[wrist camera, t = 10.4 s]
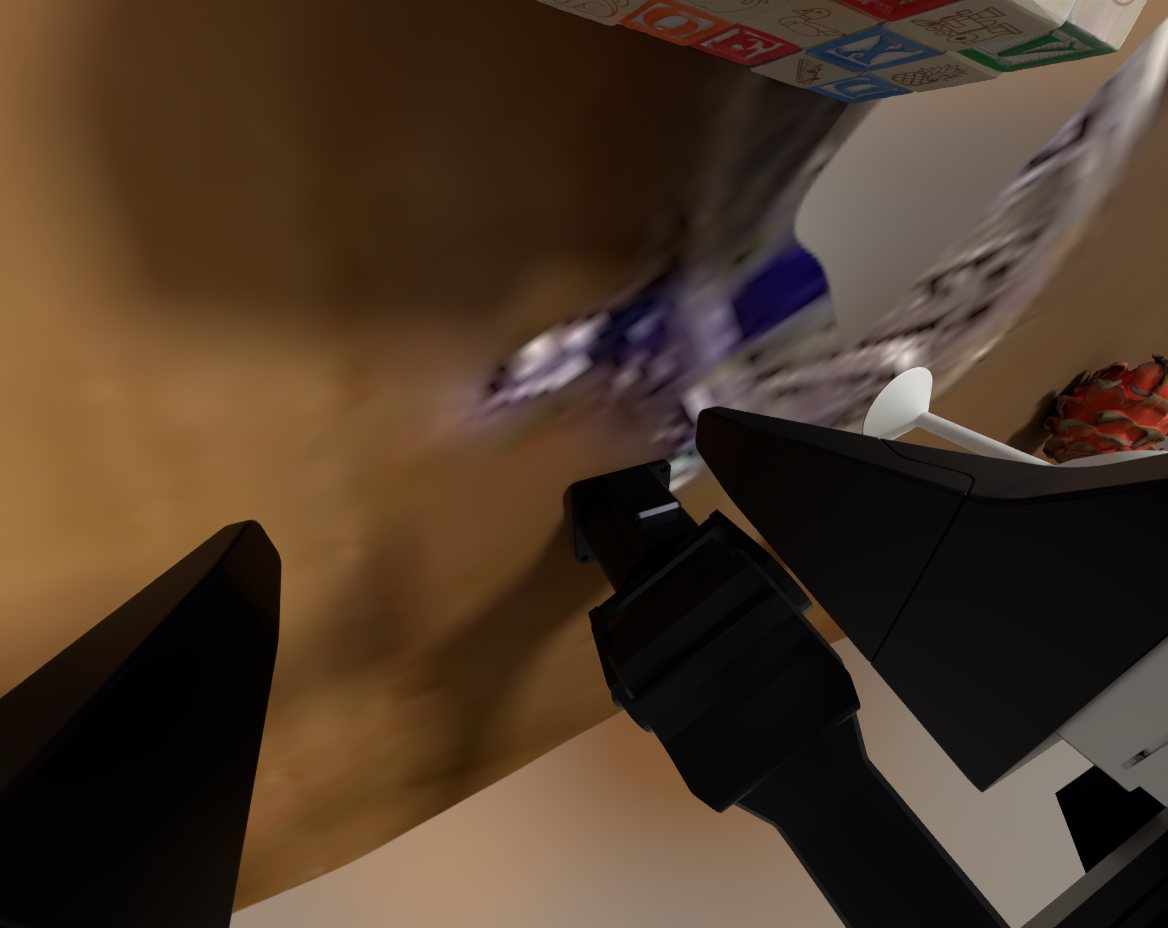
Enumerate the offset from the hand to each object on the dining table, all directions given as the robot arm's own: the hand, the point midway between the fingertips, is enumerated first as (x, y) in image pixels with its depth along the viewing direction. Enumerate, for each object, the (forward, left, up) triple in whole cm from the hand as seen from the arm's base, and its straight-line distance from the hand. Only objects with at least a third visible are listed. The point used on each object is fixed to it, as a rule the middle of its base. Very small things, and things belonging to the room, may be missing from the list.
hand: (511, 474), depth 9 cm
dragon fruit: (-16, -58, -12) cm, 62 cm away
